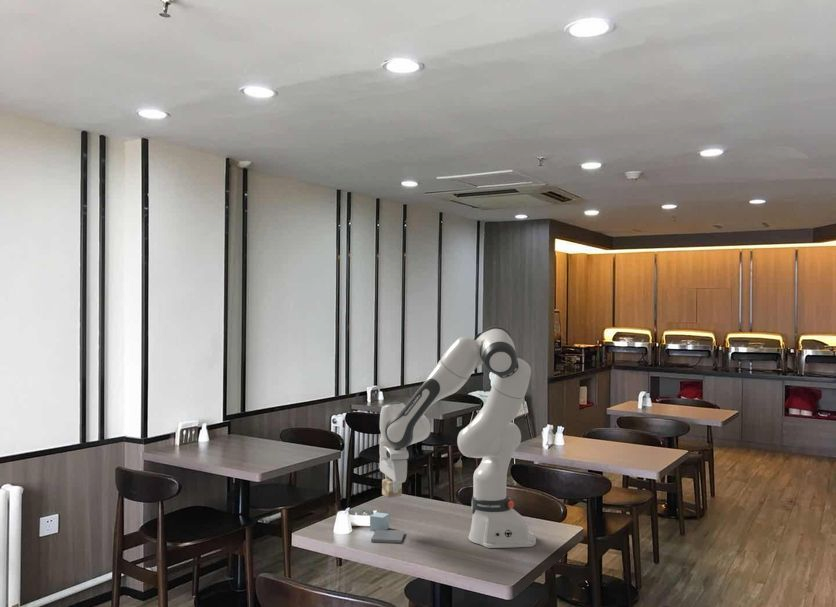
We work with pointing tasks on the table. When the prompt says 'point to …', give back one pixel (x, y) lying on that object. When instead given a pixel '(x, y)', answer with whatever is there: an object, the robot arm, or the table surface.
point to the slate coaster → (388, 536)
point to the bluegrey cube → (379, 521)
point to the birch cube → (390, 488)
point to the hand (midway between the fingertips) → (392, 490)
